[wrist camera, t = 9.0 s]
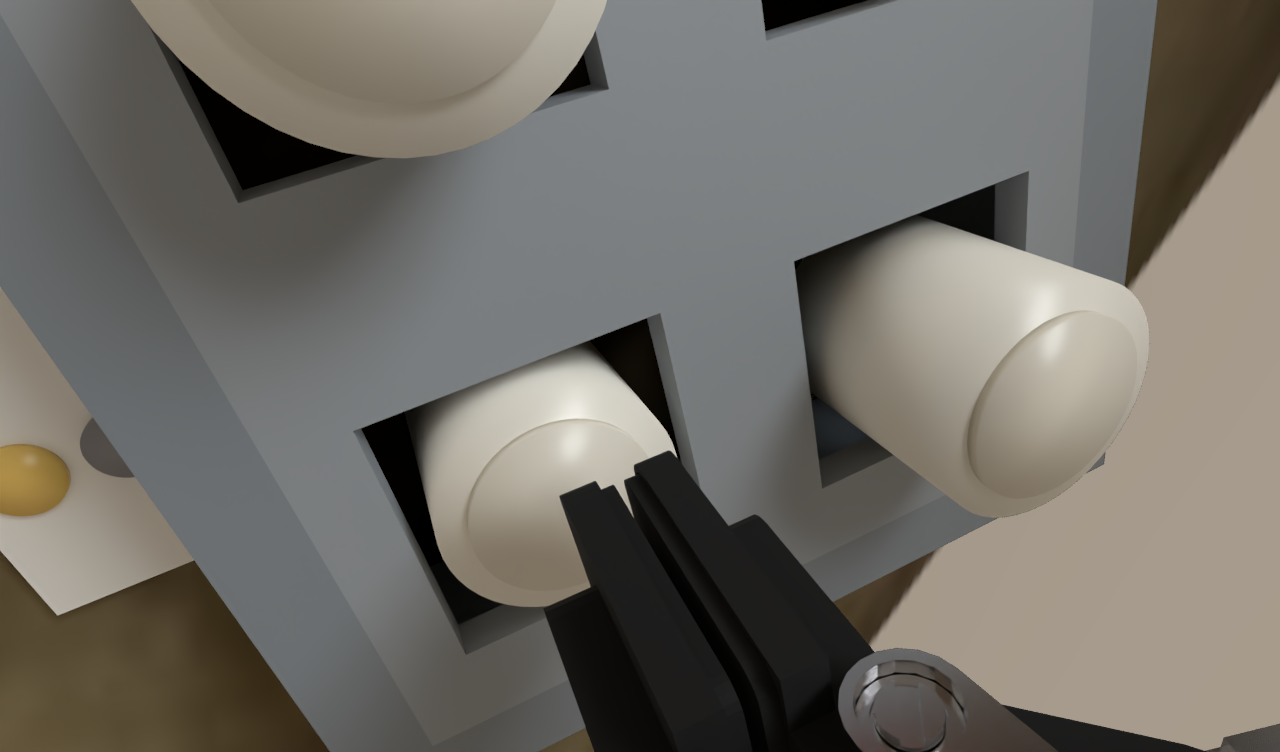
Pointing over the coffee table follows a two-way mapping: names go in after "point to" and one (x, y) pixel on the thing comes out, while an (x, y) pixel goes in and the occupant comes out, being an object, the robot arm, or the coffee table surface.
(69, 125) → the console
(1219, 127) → the coffee table surface
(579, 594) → the robot arm
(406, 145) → the button
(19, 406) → the card
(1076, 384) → the button
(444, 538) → the button
